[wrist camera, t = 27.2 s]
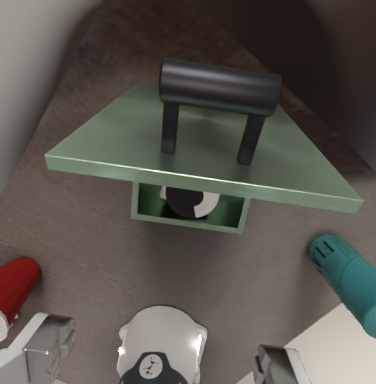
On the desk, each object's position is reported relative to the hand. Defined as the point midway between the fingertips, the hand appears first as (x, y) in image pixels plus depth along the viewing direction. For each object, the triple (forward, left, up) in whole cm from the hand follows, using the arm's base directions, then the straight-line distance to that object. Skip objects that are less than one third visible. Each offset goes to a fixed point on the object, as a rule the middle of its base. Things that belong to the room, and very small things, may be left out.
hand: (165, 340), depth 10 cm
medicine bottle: (+1, -1, -28) cm, 28 cm away
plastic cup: (-19, +33, -29) cm, 48 cm away
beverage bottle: (-14, -23, -29) cm, 40 cm away
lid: (+8, -2, -11) cm, 14 cm away
